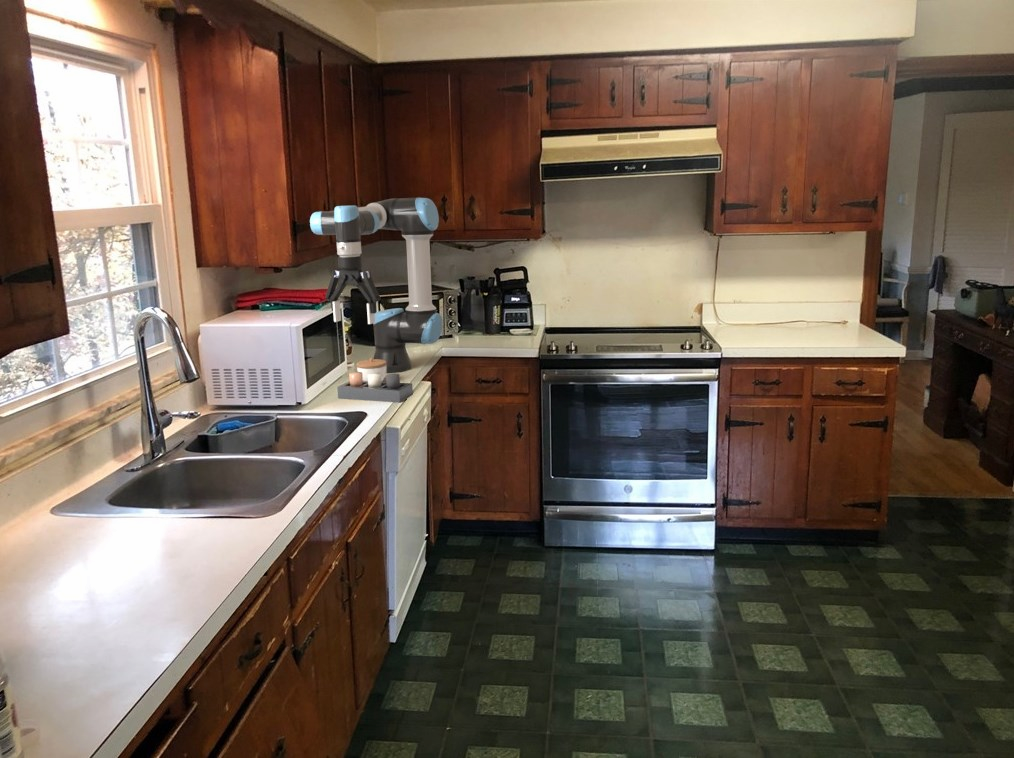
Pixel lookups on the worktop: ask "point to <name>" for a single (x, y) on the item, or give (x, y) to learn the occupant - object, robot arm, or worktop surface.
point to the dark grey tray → (375, 392)
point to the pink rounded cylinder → (356, 379)
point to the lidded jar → (372, 368)
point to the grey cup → (393, 381)
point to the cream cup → (374, 380)
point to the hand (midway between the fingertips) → (354, 322)
